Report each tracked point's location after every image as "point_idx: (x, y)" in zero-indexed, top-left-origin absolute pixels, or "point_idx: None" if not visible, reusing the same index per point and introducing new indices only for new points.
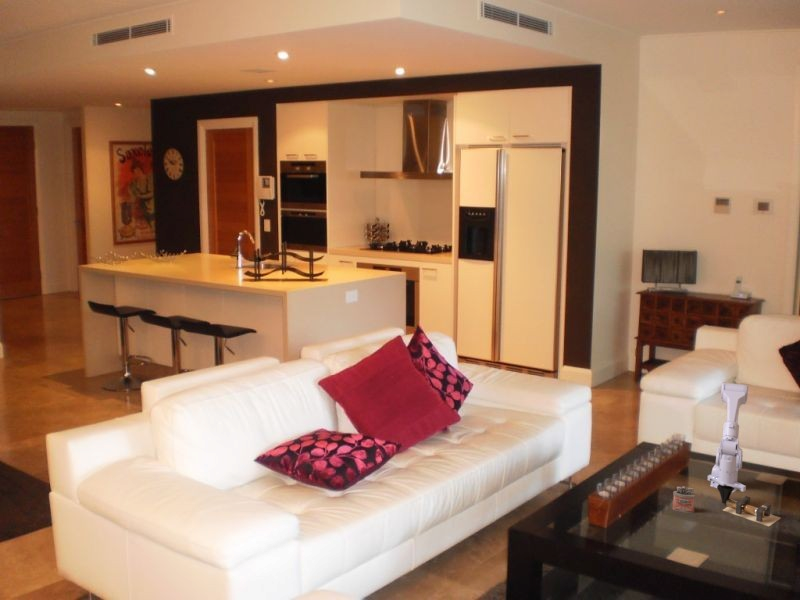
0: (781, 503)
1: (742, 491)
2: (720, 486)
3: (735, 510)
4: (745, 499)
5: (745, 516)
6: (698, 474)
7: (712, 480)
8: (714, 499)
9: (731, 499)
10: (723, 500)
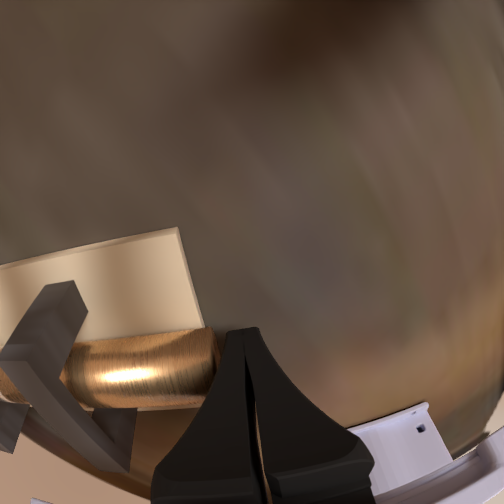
0: (131, 479)
1: (35, 500)
2: (323, 482)
3: (116, 320)
4: (68, 439)
5: (14, 294)
6: (473, 409)
7: (460, 463)
8: (358, 341)
9: (186, 398)
10: (242, 347)
